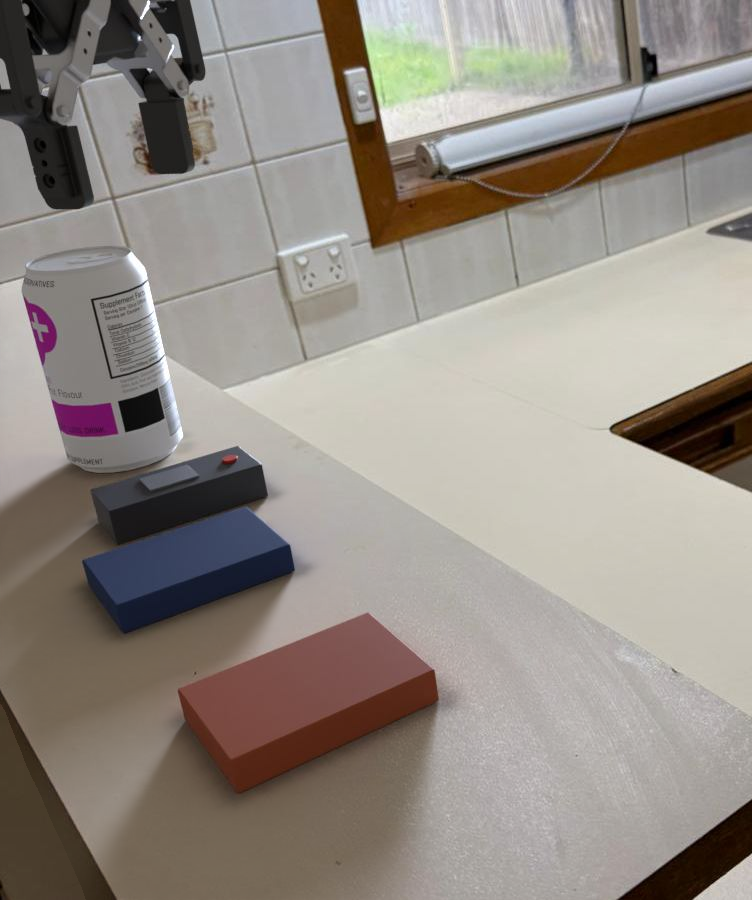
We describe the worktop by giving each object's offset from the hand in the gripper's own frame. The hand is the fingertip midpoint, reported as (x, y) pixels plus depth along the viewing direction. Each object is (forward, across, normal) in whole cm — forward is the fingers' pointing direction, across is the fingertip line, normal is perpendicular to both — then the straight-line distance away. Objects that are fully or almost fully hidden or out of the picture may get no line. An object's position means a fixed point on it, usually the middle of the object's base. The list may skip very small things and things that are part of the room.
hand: (126, 189), depth 57 cm
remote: (+23, -8, -8) cm, 26 cm away
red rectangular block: (+23, +10, +12) cm, 28 cm away
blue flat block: (+23, 0, -2) cm, 23 cm away
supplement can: (+23, -16, -18) cm, 33 cm away
